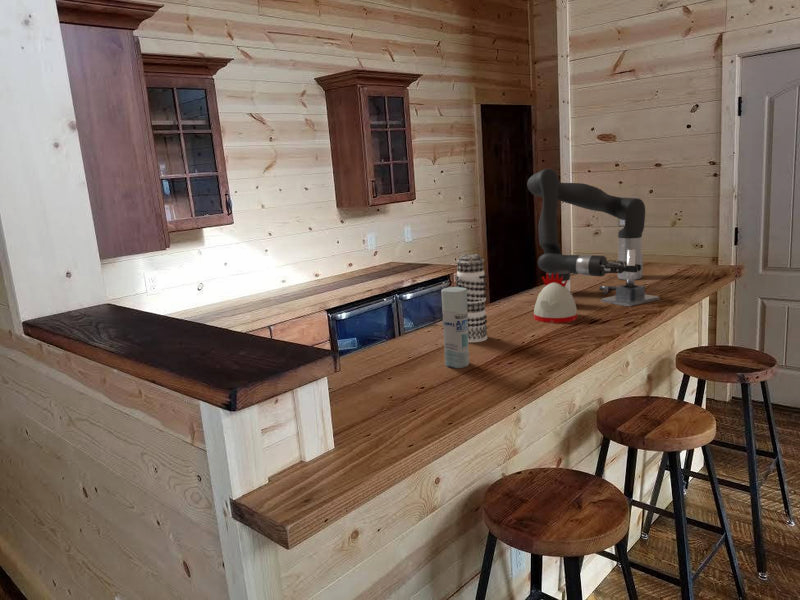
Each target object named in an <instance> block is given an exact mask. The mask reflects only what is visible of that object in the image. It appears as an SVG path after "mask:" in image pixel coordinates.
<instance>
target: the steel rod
mask: <svg viewBox="0 0 800 600" xmlns="http://www.w3.org/2000/svg"><path fill="white" fill-rule="evenodd" d="M627 265H629V266H635V249H627V264H626V266H627ZM635 281H636V279H635V272H626V280H625V284H626V288H634V285H635Z"/></svg>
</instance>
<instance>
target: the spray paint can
mask: <svg viewBox="0 0 800 600" xmlns="http://www.w3.org/2000/svg"><path fill="white" fill-rule="evenodd" d="M440 293H441V308H442V311H441V312H442V313H441V314H442V326H443V328H442V329H443V345H444V346H443V348H444V349H443V350H444V365H445V366H446V367H447V368H452V369H461V368H465V367H468V366H469V364H470V353H469V352H470V351H469V348H470V346H469V342H468V311H467V289H466V288H463V287H458V286H450V287H444V288H442V289H441V292H440Z"/></svg>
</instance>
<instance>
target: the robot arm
mask: <svg viewBox="0 0 800 600" xmlns="http://www.w3.org/2000/svg"><path fill="white" fill-rule="evenodd" d="M526 183H527V184H526V185H527V189H528V191H529V192H530V193H531V194H532V195H533V196H535V197H539V198H542V207H541V213H540V216H539V221H538V227H537V228H538V239H539V241H538V242H539V246H540V247H541V248H542V249H543V254H541V255H540V256H539V257H538V259H537V267H538V268H539V269H540V270H541V271H543V272H545V273H546V272H548V271H553V270H565V271H569V272H570V275H571V274H574V275H582V276H590V277H601V278H603V277H604V276H605V275H606V274H617V279H619V280H623V281H624V280H625V281H626V272H635V280H640V279H642V278H643V267H644V266H643V265H644V255H643V254H642V251H643V249H642V247H643V245H642V244H643V232H644V230H645V222H646V205H645V202H644V201H643V200H642V199H641V198H637V197H619V196H615V195H610V194H608V193H607V192H605V191H603V190H602V189H601V188H599V187H597V186H594V185H591V184H587V183H584V182H583V183H582V182H560V179H559V176H558V174H557V171H555V170H554V169H552V168H544V169H542V170H540V171H537V172H536V173H534V174H532V175H531V176H530V177H529V178H528V180H527V182H526ZM558 201H560V202H564V203H567V204H570V205H573V206H575V207H579V208H583V209H584V210H585V209H586V210H591V211H593V212H602V213H606V214H607V215H609V216H613V217H614V218H617V219H619V220H622V221H624V227H623V228H622V229H619V230H618V232H617V233H618V234H617V261H616V260H610V261H608V259H607V257H606V256H605V255H594V254H591V255H590V254H562V251H561V247H560V244H559V238H558V235H559V234H558V226H557V225H558V223H557V222H558V220H557V219H558V218H557V215H558V214H557V213H558ZM627 249H635V266H629V265H627V266H626V264H627Z"/></svg>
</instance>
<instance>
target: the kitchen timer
mask: <svg viewBox="0 0 800 600" xmlns="http://www.w3.org/2000/svg"><path fill="white" fill-rule="evenodd" d="M541 279H542V281H543V283H544V285H545V286H544V287H543V288H542V289H541V290H540V292H539V293H538V294H537V297H536V298H537V299H536V301H535V305H534V310H533V319H534V320H535V321H537V322H541V323H547V322H548V323H551V324H560V323H562V324H563V323H569V322H574V321H576V320H578V310H577V305H576V301H575V300H574V296H573V294H572V293H571V290H570V291H569V290H568V289H567V288H566V287H565V285H566V283H567V280H566V281H565V283H564V284H563V283H562V279H563V276H562V277H561V278H560V280H559V275H558V273H557V274H556V278H555V279H554V273H552V275H551V279H550V278H549V275H548V273H546V272H545V277H544V276H542V277H541Z"/></svg>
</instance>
